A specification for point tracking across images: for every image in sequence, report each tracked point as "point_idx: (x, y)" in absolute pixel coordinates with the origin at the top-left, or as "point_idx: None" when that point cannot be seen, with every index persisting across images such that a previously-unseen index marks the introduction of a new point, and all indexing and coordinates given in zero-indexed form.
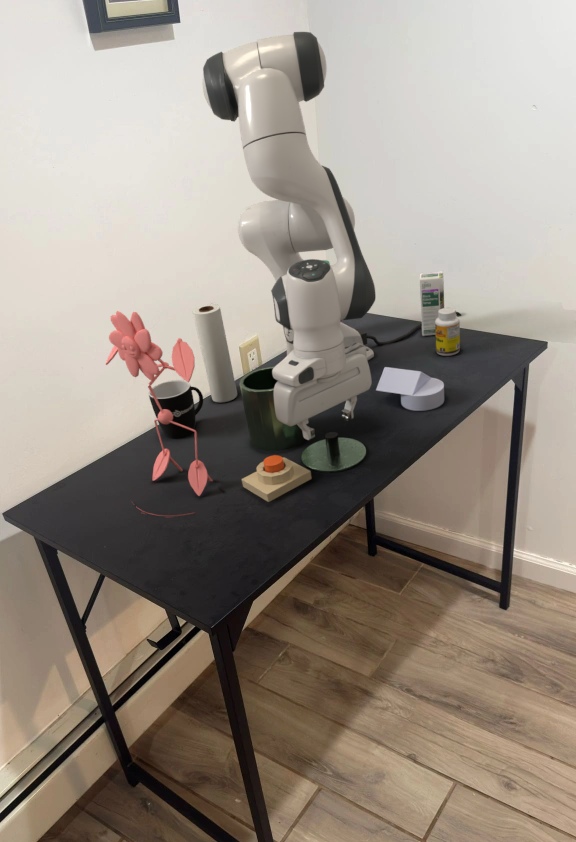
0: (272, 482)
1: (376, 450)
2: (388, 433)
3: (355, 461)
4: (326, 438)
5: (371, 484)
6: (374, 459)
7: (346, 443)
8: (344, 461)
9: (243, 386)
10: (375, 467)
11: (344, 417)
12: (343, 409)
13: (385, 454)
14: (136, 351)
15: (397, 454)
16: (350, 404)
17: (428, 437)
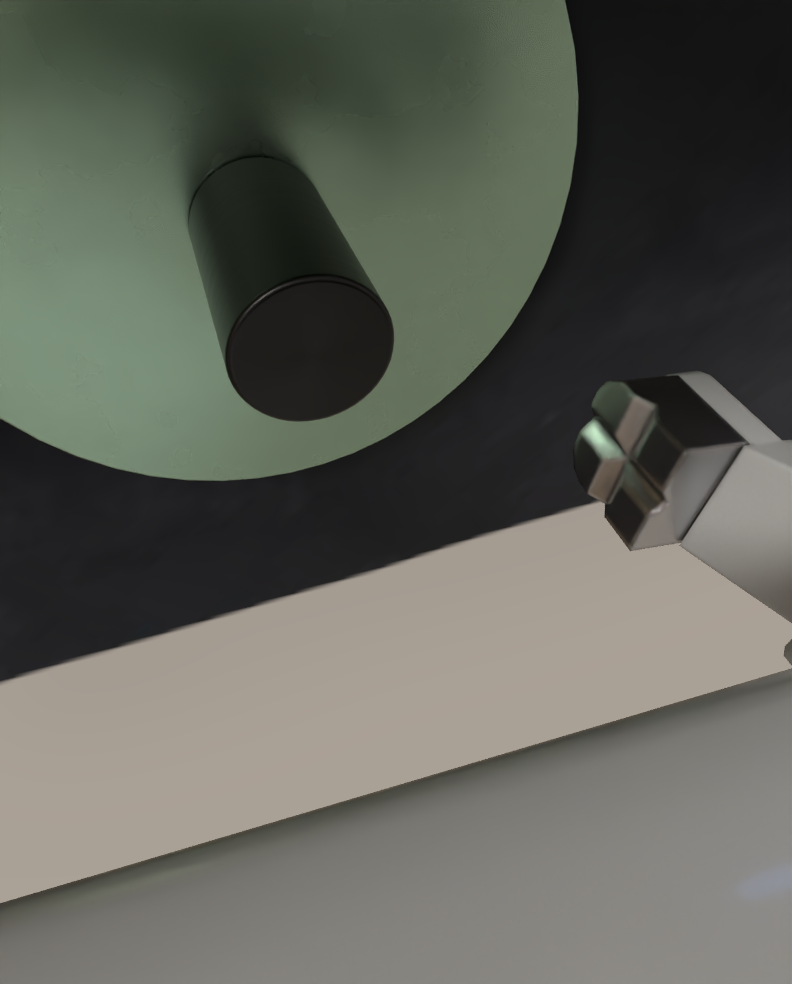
0: None
1: (521, 361)
2: (758, 250)
3: (282, 457)
4: (222, 353)
5: (189, 605)
6: (417, 434)
7: (480, 180)
8: (225, 405)
9: None
10: (343, 500)
11: (610, 433)
12: (726, 446)
13: (498, 433)
14: None
15: (523, 472)
16: (782, 569)
17: None
